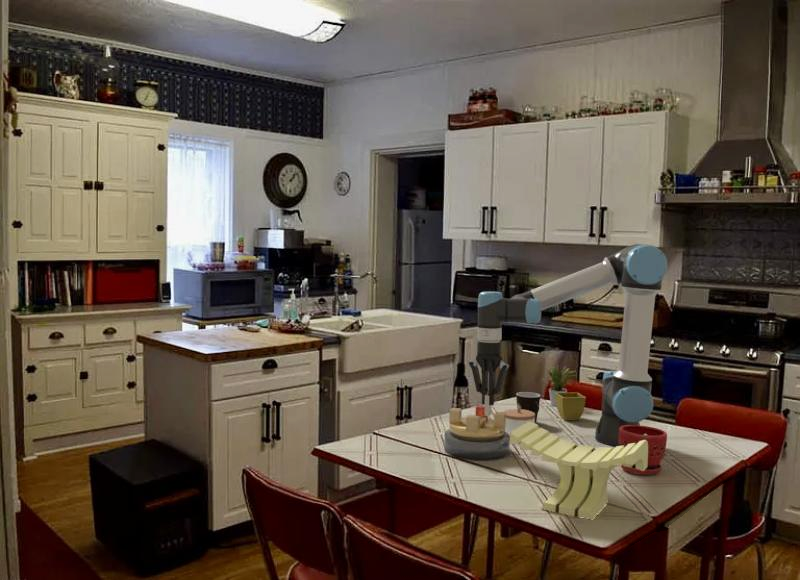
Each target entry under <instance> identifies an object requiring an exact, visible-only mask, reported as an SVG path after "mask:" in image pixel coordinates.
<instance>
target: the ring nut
mask: <svg viewBox="0 0 800 580" xmlns="http://www.w3.org/2000/svg"><path fill="white" fill-rule="evenodd" d="M462 410H463V408H459V407H451V408H450V409H449V418H448V419H449V420H448V421H449V429H450V435H452V436H453V437H455V438H458V439H462V440H468V441H478V442H486V441H496V440H500V439H502V438H504V437H505V432H506V430H505V426H506V413H504V412H503V411H502V412H501V411H496V412H495V413H494V417H493V418H494V419H493V418H489V416H485V405H484V404H482V405H480V404H477V405H476V406H475V415H471V414H468V415H466V417H462V415H463V414H462V412H463V411H462Z"/></svg>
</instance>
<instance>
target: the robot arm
mask: <svg viewBox="0 0 800 580" xmlns="http://www.w3.org/2000/svg"><path fill="white" fill-rule="evenodd" d="M667 270H668V259H667V257H666V255H665V253H664V252H663V251H662V250H661V249H659V248H658V247H656V246H654V245H653V244H647V243H646V244H645V243H643V244H641V243H637V244H632V245H629V246H627V247H625V248H623V249H621V250H619V251H617V252H614V253H613V254H611V255H609V256H605V257H604V259H603V261H601V262H599V263H597V264H594V265H591V266H589V267H586V268H584V269H581V270H579V271H576V272H574V273H570V274H569V275H566V276H564V277H560V278H558V279H556V280H553V281H550V282H548V283H546V284H543V285H541V286H538V287H535V288H533V289H530V290H528V291H525V292H523V293H520V294H519V293H518V294H515V295H513V296H511V298H506V297H503V293H502V292H501V291H482V292H480V293H479V294H478V300H477V340H478V341H477V346H476V348H477V349H476V353H477V354H476V356H475V359H473V360H471V361H469V362H468V365H469V367H470V368H471V372H472V377H473V381H474V386H475V390H476V393H477V392H478V393H480V394H481V403H482V405H483V406H485V416H488V417H489V416H491V415H492V406H494V405H495V395H497V394H499V393H501V391H502V387H503V383H504V381H505V380H504V379H505V375H506V372H507V371H508V370H509V367H510V364H508V363H506V362H504V361H503V357H502V342H501V341H502V337H503V336H502V333H503V332H502V331H503V330H502V328H503V327H502V326H503V325H502V324H503V323H517V324H518V323H519V324H529V325H530V324H538V323H540V322H541V319H542V311H544V310H546V309H548V308H551V307H554V306H557V305H560V304H562V303H565V302H567V301H570V300H573V299H574V298H577V297H580V296H582V295H585V294H588V293H590V292H593V291H596V290H599V289H601V288H603V287H605V286H609V285H615V286H617V285H619V284H620V285H621V287H620V288H621V289H622V290H623V291H624V292H625V299H624V307H623V321H622V328H621V329H622V332H621V339H620V348H619V349H620V350H619V351H620V352H619V360H618V361H619V362H618V369H617V370H607V371H604V373H603V377H602V380H601V381H602V395H601V397H602V398H601V401H602V402H601V415H600V419H599V421H598V424H597V427H596V429H595V432H594V436H595V437H594V438H595V440H596V441H597V442H599V443H602V444H604V445H609V446H615V447H616V446H619V443H618V438H619V428H620V427H621V426H625V425H640V426H641V424H640V422H642V421H644V420H645V419H647V418H648V417H649V416H651V415H650V414H651V413H652V412H653V409H654V398H653V395H652V394H651V393H652V383H653V378H652V377H651V376H650V374H649V373H648V370H649V361H650V352H651V351H650V350H651V349H650V348H651V343H652V341H651V340H652V331H653V323H654V321H653V320H654V311H655V303H656V302H655V301H656V296H657V295H658V294H659V293H660V292H661V291H662V283H663V279H664V277H665V276H666V274H667V272H668V271H667ZM479 367H480V369H481V370H480V371H481V374H480V371H479ZM498 368H500V370H499V373H498V377H497V380H496V373H497V369H498Z"/></svg>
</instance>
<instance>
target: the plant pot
mask: <svg viewBox="0 0 800 580" xmlns="http://www.w3.org/2000/svg"><path fill="white" fill-rule="evenodd" d="M642 440H647V442H648V464H647V468H646V469H645V470H644V471H641V470H639V469H636V467H635V465H633V466H632V467H626V466H623V465H622V466H621V469H623V470H624V471H627V472H629V473H631V474H632V475H633V474H634V475H635V474H636V475H643V476H645V475H646V476H649V475H651V476H652V475H656V474H658V473H660V471H661V470H662V465H661V462H662V461H663V458H664V457H665V453H666V448H667V441H668V433H667V432H666V431H664V430H663V429H659V428H657V427H651V426H648V425H641V424H640V425H625V426H621V427H620V428H619V438H618V443H619V446H624V448H625V447H626V446H627V445H628V444H631V443H636V444H637V443H638V442H639V441H642Z"/></svg>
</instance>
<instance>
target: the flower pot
mask: <svg viewBox="0 0 800 580" xmlns="http://www.w3.org/2000/svg"><path fill="white" fill-rule="evenodd" d="M586 399H587V397H586V396H584V395H582V394H581V393H579V392H567V393H556V404H557V406H556V408H557V412H558V413H559V416H560V418H562V419H563V420H565V421H579V420H580V419H581V418H582V415H583V413H584V410H585V406H586Z"/></svg>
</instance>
